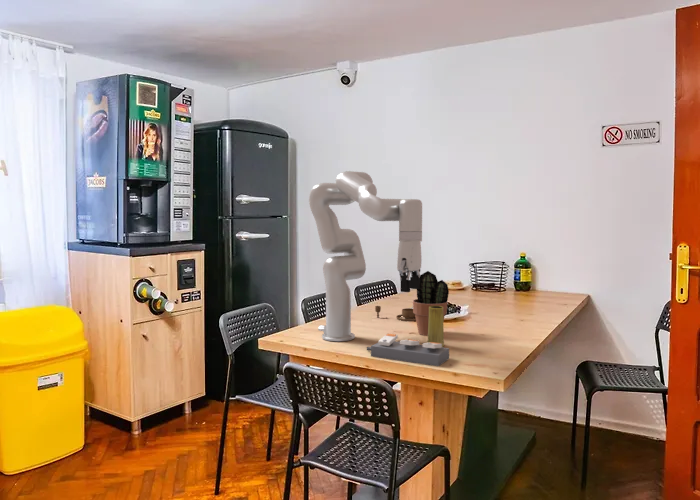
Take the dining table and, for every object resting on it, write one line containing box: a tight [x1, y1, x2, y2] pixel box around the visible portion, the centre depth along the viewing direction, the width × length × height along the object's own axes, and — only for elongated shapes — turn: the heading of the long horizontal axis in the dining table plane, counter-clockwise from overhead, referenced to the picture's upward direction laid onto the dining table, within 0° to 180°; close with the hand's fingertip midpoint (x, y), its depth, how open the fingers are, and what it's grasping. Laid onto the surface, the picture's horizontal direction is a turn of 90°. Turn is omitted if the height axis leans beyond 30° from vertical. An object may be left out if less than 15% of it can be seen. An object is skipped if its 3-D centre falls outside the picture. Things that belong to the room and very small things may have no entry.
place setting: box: [374, 305, 416, 322], centre depth 246 cm, size 18×20×6 cm
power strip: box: [366, 340, 450, 367], centre depth 181 cm, size 28×10×4 cm, turn 60°
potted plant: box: [412, 270, 450, 337], centre depth 214 cm, size 14×14×25 cm
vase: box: [427, 306, 445, 348], centre depth 195 cm, size 6×6×14 cm
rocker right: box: [422, 342, 442, 348], centre depth 176 cm, size 4×7×1 cm, turn 150°
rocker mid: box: [399, 338, 420, 345], centre depth 180 cm, size 4×7×1 cm, turn 150°
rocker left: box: [377, 333, 399, 346], centre depth 184 cm, size 4×7×1 cm, turn 150°
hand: (410, 290), depth 179 cm, fingers open, 7 cm apart
